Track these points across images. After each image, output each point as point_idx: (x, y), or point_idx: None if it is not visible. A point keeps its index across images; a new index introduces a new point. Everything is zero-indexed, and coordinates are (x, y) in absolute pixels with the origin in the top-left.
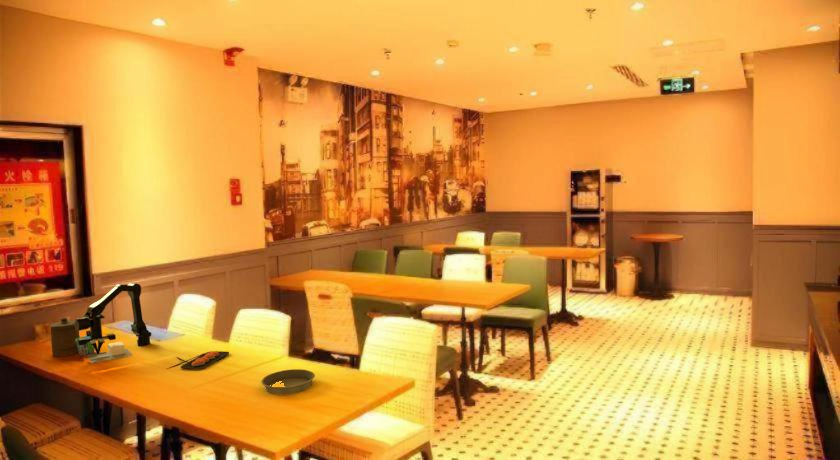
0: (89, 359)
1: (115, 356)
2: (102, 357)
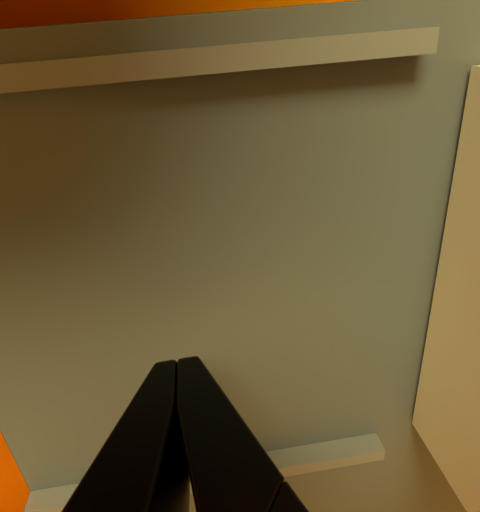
0: (4, 427)
1: None
2: None
